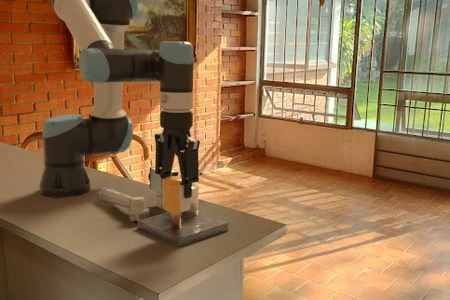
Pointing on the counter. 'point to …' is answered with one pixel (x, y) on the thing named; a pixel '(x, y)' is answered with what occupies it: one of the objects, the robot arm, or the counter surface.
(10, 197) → the counter surface
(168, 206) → the orange acorn nut
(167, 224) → the grey slab with post
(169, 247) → the counter surface
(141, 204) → the white handheld device
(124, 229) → the counter surface
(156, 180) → the pneumatic valve
